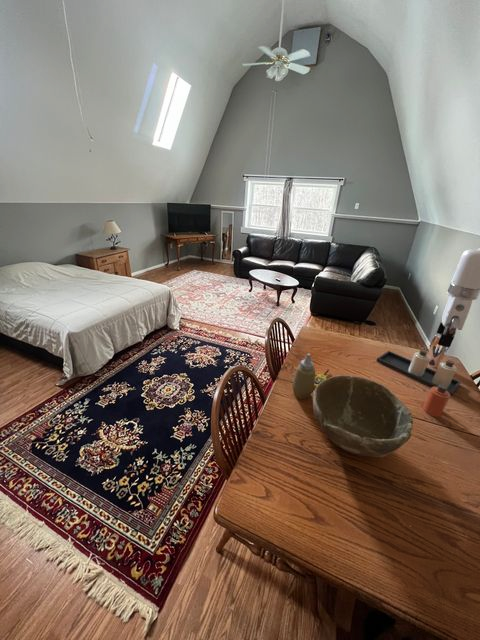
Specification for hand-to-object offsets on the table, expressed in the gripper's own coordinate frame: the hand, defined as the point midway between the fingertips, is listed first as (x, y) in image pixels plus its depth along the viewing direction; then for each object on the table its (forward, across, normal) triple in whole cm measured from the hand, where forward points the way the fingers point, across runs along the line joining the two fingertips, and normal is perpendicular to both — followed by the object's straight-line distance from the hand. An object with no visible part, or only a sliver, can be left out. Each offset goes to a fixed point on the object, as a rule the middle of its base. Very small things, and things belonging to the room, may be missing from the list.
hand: (442, 339), depth 89 cm
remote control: (+27, -8, +34) cm, 44 cm away
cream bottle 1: (+26, +21, +1) cm, 34 cm away
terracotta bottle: (+27, -2, -5) cm, 28 cm away
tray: (+27, +21, +1) cm, 34 cm away
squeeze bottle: (+27, -21, +38) cm, 51 cm away
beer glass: (+27, +34, -6) cm, 44 cm away
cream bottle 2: (+26, +18, -8) cm, 33 cm away
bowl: (+27, -32, +17) cm, 46 cm away
